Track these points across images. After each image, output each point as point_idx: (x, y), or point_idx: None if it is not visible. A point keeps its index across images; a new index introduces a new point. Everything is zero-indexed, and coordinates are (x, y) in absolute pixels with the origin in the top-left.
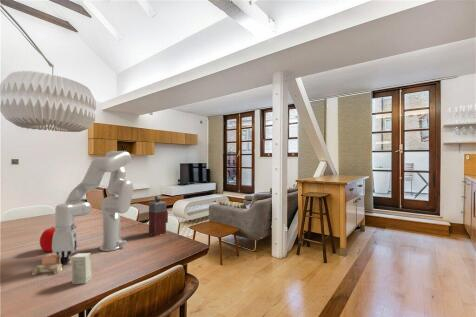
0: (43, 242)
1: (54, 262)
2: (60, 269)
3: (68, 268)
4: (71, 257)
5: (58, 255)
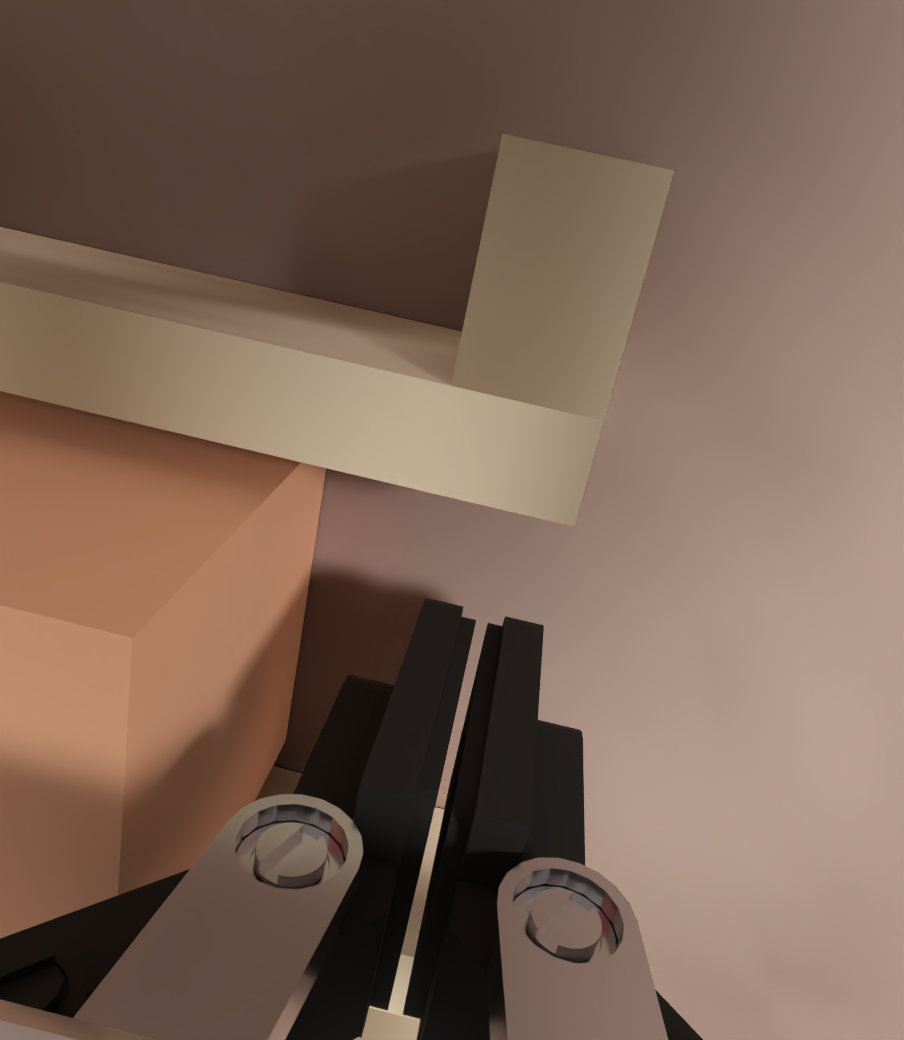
0: None
1: None
2: None
3: (618, 776)
4: (612, 388)
5: (94, 870)
